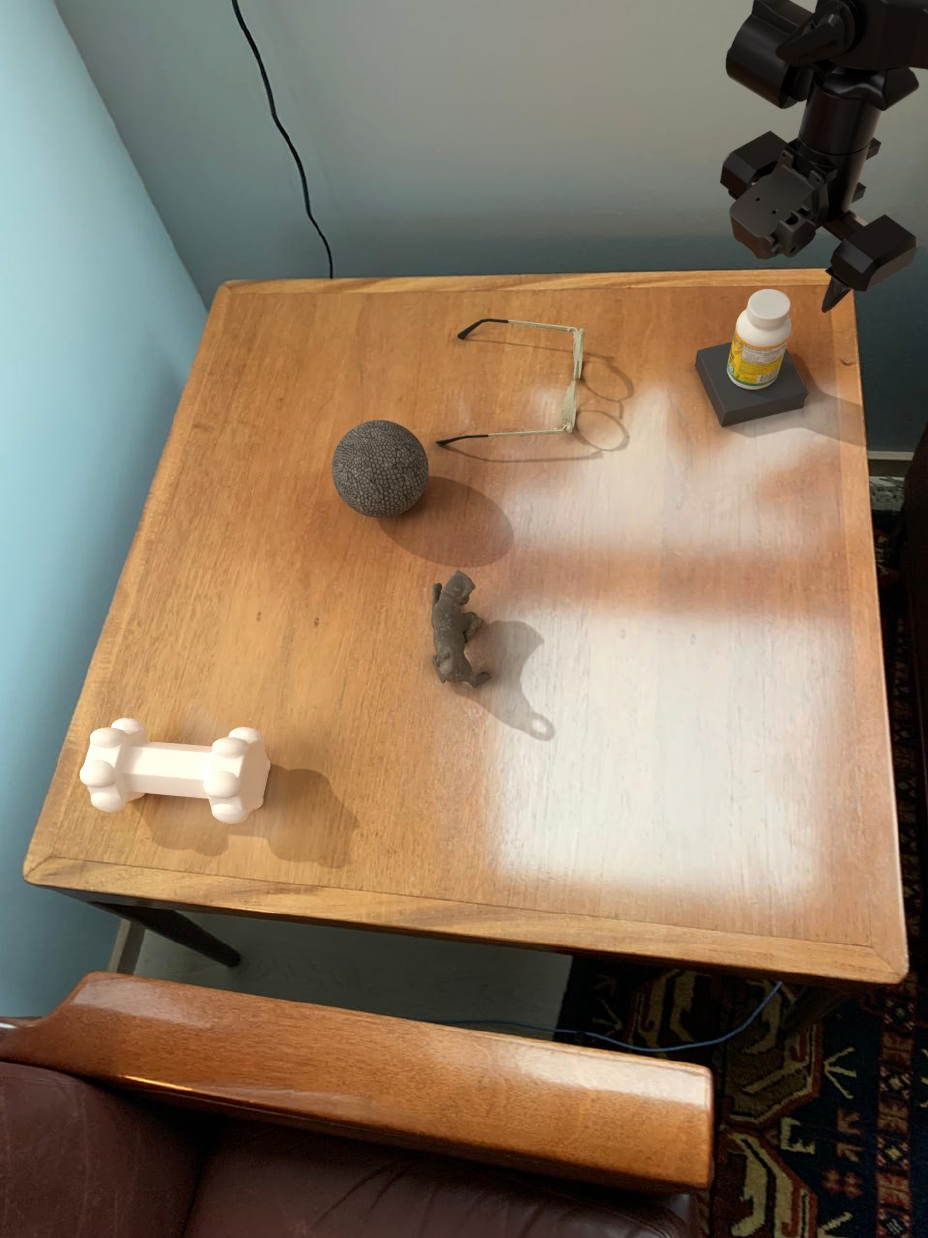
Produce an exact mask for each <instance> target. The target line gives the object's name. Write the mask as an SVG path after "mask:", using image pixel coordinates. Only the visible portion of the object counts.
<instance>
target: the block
mask: <svg viewBox="0 0 928 1238" xmlns="http://www.w3.org/2000/svg"><path fill="white" fill-rule="evenodd" d="M732 342H733V341H730V342H726V343H722V344H718V345H714V346H709V347H705V348H701V349H697V350H696V356H695V362H694V367H695V370H696V372H697V374H698V377H699V379H700V381H701V383H702V385H703V389H704V390H705V393H706V395H707V398H708V400H709V402H710V404H711V407H712V408H713V411H714V413H715V415H716V418H717V420H718V423H719V424H720V427H721V428H724V427H725V428H726V427H729V426H733V425H736V424H742V423H745V422H749V421H753V420H757V419H761V418H766V417H769V416H770V417H771V416H774V415H778V414H781V413H787V412H791V411H795V410H798V409H802V408H804V406H805V403H806V400H807V397H808V394H809V390H808V389H807V387H806V385H805V382H804V380H803V378H802V376H801V375H800V373H799V371H798V369H797V367H796V365H795V363H794V361H793V359H792V357H791V355H790V352H789V351H788V349H787V348H786V349H785V352H784V356H783V359H782V362H781V366H780V369H779V373H778V376H777V378H776V379H775V380H774V382H773V383H771V384H770V385H769V386H767V387H765V388H762V389H756V390H750V389H745V388H742V387H739V386H737V385H736V384H735V383H734V382H733V381H732V380H731V379H730V377H729V375H728V372H727V364H728V360H729V355H730V350H731V346H732Z"/></svg>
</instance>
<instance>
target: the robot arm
mask: <svg viewBox="0 0 928 1238" xmlns="http://www.w3.org/2000/svg"><path fill="white" fill-rule="evenodd" d="M724 67H725V71H726V74H727V76H728V78H730V79H731V80H732V81H734V82H736V83H738V84H739V85H741V86H742V87H744V88H746V89H748V90H749V91H751V92H752V93H754V94H756V95H757V96H759V97H761V98H762V99H763V100H766V101H767V102H768V103H770V104H771V105H773V106H774V107H777V108H779V109H780V110H787V109H789V108H792V107H793V106H795V105H797V104H798V103H803V102H805V106H804V110H803V113H802V118H801V122H800V126H799V130H798V133H797V137H796V138H794V139H792V140H790V141H788V142H787V141H786V140H785V139H783V138H781V137H780V136H779V135H777V134H776V133H775V132H773V131H772V130H768V131H766V132H765V133H762V134H761V135H758V136H757V137H755V138H754V139H752V140H750V141H748V142H746V143H744V144H743V145H741V146H739V147H736V148H735V149H734V150H732V151H730V152H729V153H728V154H727V156H726V157H725V158H724V159H723V161H722V166H721V173H720V179H719V184H721V186H723V187H724V188H725V189H727V193H728V196H729V197H731V198H732V199H733V200H734V202H733V203H732V204H731V205H730V207H729V211H728V213H729V219H730V224H731V229H732V233H733V238H734V239H735V241H737V242H739V243H741V244H742V245H744V246H745V247H746V248H747V249H748V250H749V251H751V252H752V253H753V255H754V256H755V257H756V259H761V260H770V259H772V258H775V257H777V256H779V255H784V257H786V258H787V259H791V258H794V257H795V256H797V255H798V253H800V252H801V251H802V250H804V249H805V248H806V247H807V246H808V245H809V244H810V243H811V242H813V240H814V239H815V237H816V235H817V230H818V229H820V228H822V229H825V230H826V231H827V233H830V234H831V236H834V237H835V238H836V239H837V240H839V241H840V243H838V245H837V247H835V249H834V250H833V252H832V254H831V258H830V260H829V261H830V262H829V263H830V266H829V267H828V268H826V269H825V270H824V272H825V273H826V274H827V275H828V276H830V280H829V283H828V285H827V287H826V292H825V294H824V296H823V300H822V305H821V312H822V313H824V314H826V313H828V312H829V311H831V310H833V309H834V308H835V307H836V306H837V305H838V304H839V303H840V302H841V301H842V300H843V299H844V298H845V297H846V296H847V295H848V294H849V293H850V292H851V291H852V290H854V291H855V292H868V291H869V290H871V289H872V288H874V287H876V286H877V285H879V284H881V283H883V282H884V281H885V280H887V279H889V278H891V277H892V276H894V275H895V274H897V273H899V272H900V271H902V270H904V269H905V268H907V267H910V265H912V263H913V261H914V260H915V257H916V254H917V252H918V250H919V244H920V239H919V238H918V237H917V236H915V234H914V233H911V232H910V231H909V230H908V229H906V228H905V227H903V226H902V225H901V224H899V223H898V222H897V221H895V220H894V219H892V218H891V217H890V216H888V215H887V214H886V213H884V214H883V215H881V216H879V217H878V218H876V219H874V220H872V221H870V222H868V221H867V220H865V219H864V218H862V217H861V216H860V215H858V214H857V213H855V212H854V211H853V210H852V209H850V208H851V205H852V204H854V203H855V202H857V201H859V200H861V199H862V198H864V194H865V192H866V189H867V186H866V185H865V184H863V183H861V182H860V178H861V175H862V173H863V169H864V166H865V164H866V161H868V160H870V159H871V158H873V157H875V156H877V155H878V154H879V151H880V148H881V145H882V142H881V141H880V140H879V139H877V138H876V137H874V136H875V133H876V129H877V126H878V124H879V121H880V118H881V114H882V112H886V111H887V110H889V109H891V108H892V107H894V106H895V105H896V104H898V103H900V102H901V101H902V100H905V98H908V97H909V96H910V95H911V94H913V93H915V92H916V91H918V89H919V88H920V82H919V80H918V78H917V75H916V73H915V72H914V71H913V70H912V69H911V68H913V69H919V70H925V71H928V0H816V3H815V7H814V12H812V11H810V10H809V9H806V8H805V7H803V6H801V5H800V4H797V3H795V2H794V1H792V0H753V1H752V5H751V12H750V14H749V15H748V17H747V18H746V19H745V20H744V22H742V24H741V25H740V27H739V29H738V31H737V33H736V35H735V37H734V39H733V40H732V43H731V45H730V47H729V48H728V49H727V52H726V57H725V66H724Z"/></svg>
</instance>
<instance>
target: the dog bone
mask: <svg viewBox="0 0 928 1238" xmlns="http://www.w3.org/2000/svg"><path fill="white" fill-rule="evenodd" d="M89 740H90V741H89V742H90V744H89V747H88V750H87V754H86V757H85V760H84V763H83V766H82V767H81V769H80V771H79V778H80V781H81V782H82V783H83V784H84V785H85V786H86V788H87V790H88V792H89V794H90V802H91V804H92V805H93V807H94V808H96V809H98V810H100V811H102V812H106V813H117V812H120V811H122V810H124V809H125V808H126V807H127V805H128V802H131V801H134V800H138V799H141V798H143V797H144V796H145V794H152V795H163V796H176V797H184V798H194V799H195V798H196V799H207V800H208V802H209V804H210V805H209V806H210V808H211V813H212V815H213V817H214V818H215V819H216V820H217V821H219V822H221V823H224V824H228V825H236V824H241V823H243V822H245V821H246V820H247V819H248V817H249V814H250V812H252V811H254V810H257V809H260V807H261V806H262V805H263V803H264V796H265V791H266V787H267V783H268V782H267V781H268V777H269V772H270V771H271V760H270V758H269V757H268V755H267V751H266V748H265V738H264V735H263V733H261V732H260V731H259V730H258V729H255V728H253V727H249V726H239V727H236V728H234V729H232V730H231V731H230V732H229V734H228V736H225V737H221V738H219V739H217V740H215V741H214V742H213V743H212V746H211V745H201V744H199V745H198V744H187V743H176V742H163V741H151V740H150V739H149V735H148V733H147V728H146V726H145V724H144V723H143V722H142V721H140V720H139V719H136V718H133V717H122V718H118V719H116V720H115V721H113V723H112V724H111V726H109V727H101V728H98V729H95V730H94V731H92V732H91V734H90V736H89Z"/></svg>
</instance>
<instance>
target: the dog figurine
mask: <svg viewBox="0 0 928 1238" xmlns="http://www.w3.org/2000/svg"><path fill="white" fill-rule="evenodd" d="M453 573H454V574H452V575H450V577H449V579H448V581H447V582H446V583H445V585H444V586H443V584H442V583H441V582H437V583H433V584H432V591H431V594H432V600H431V601H432V602H431V616H430V624H431V627H432V629H433V633H432V640H433V641H432V642H433V647H434V649H435V650H436V654H435V655H433V656H432V657H431V663H432V665H434V670H435V672H436V674H437V677H438V679H439V681H440V683H441V684H444V683H446V682H458V683H459V682H460V683H461V682H465V683H467V684H468V685H470V686H471V687H472V688H473V689H477V688H478V687H479V686H480V685H483V684H484V683H486V682H487V681H488V680H490V679H491V677H492V675H491V673H490V672H489V671H481V672H480V674H477V675H476V673H474V670H473V667H472V665H471V663H470V661H469V660H468V658H467V657H466V655H465V649H466V645H467V644H468V643H469V642H470V641H472V639H473V636H474V635H475V633H476V630H477V629H479V628H480V627H481V625H482V623H483V619H482V617H481V616H478V614H477V612H475V611H472V610H469V612H462V609H461V606H464V605H467V604H468V603H469V601H470V595H471V594H472V593H473V590H475V589H476V584H475V583H474V581H473V580H472V579H471V577H469V576H468V575H467V574H466V573H465V572H463V571H462V570H459V569H456V570H455V571H454V572H453Z"/></svg>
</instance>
